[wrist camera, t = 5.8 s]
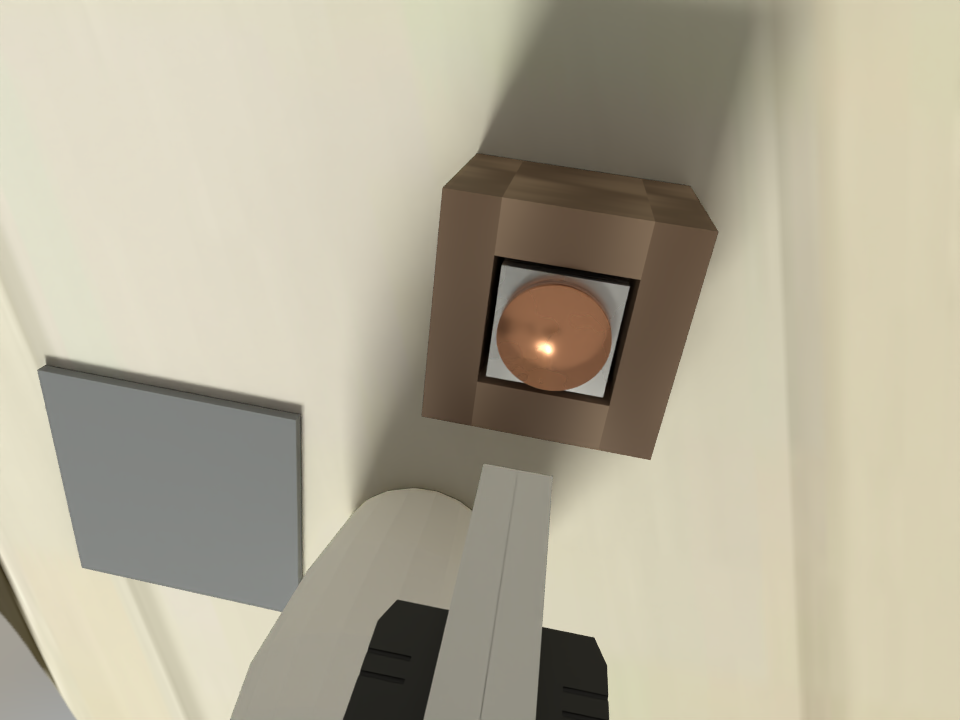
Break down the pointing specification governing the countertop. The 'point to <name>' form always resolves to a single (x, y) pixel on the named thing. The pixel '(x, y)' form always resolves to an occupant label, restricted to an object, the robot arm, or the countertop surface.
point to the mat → (179, 486)
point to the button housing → (572, 244)
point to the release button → (556, 326)
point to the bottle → (354, 603)
